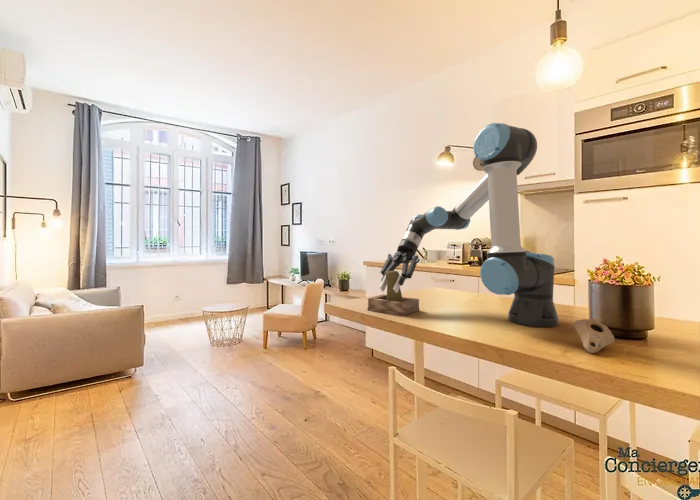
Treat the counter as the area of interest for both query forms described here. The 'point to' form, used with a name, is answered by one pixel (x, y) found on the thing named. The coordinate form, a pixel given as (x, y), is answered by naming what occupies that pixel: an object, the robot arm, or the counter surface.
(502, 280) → the robot arm
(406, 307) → the brown tray
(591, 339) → the pottery oil lamp
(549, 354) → the counter surface
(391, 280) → the cork
